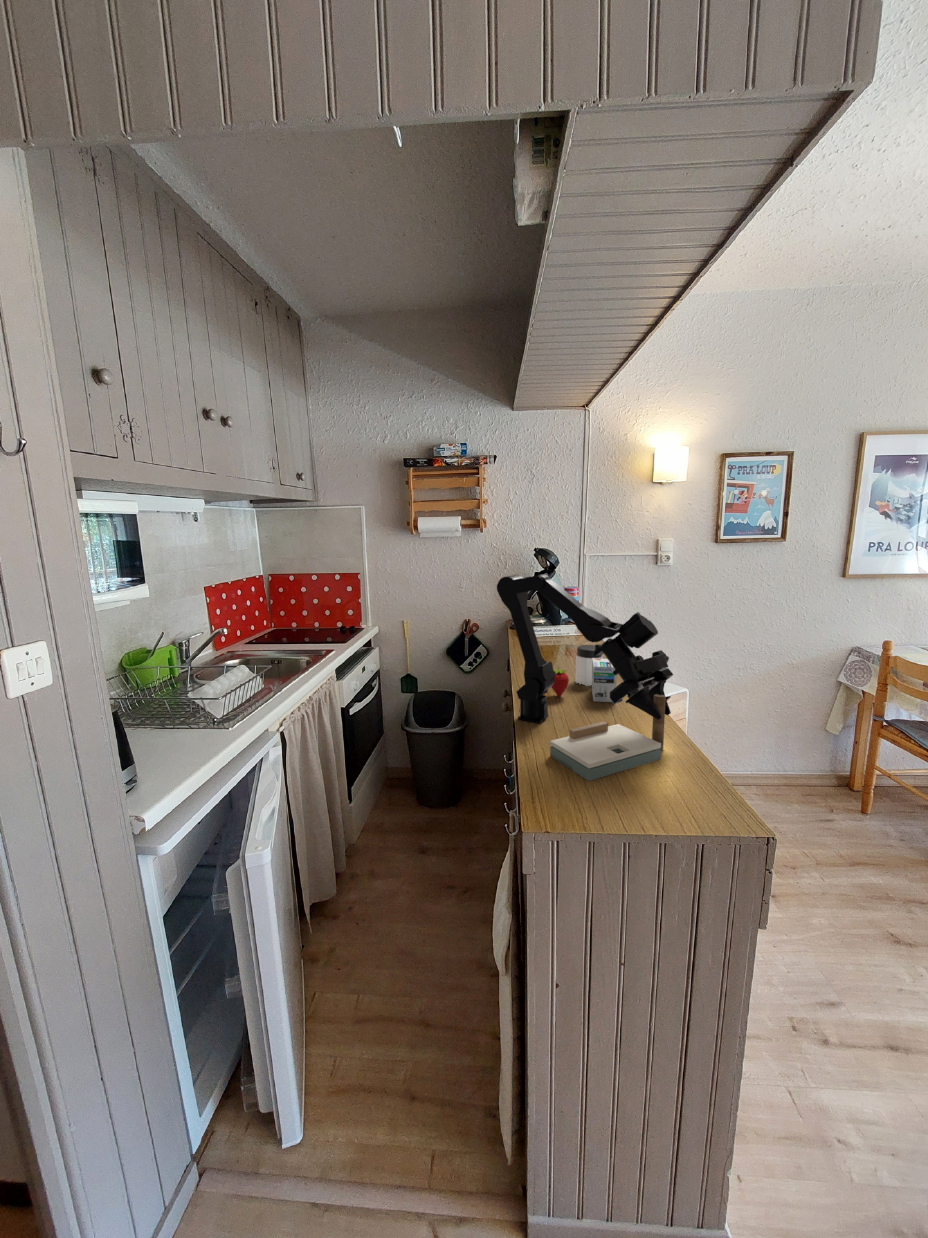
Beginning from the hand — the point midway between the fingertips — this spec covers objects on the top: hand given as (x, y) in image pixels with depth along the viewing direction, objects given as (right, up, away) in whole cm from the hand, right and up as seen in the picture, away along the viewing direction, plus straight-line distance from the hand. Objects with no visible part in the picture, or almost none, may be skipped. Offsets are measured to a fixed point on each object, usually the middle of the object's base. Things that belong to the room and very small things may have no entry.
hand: (664, 716), depth 113 cm
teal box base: (-14, -9, -2) cm, 17 cm away
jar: (-4, +1, +53) cm, 53 cm away
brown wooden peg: (-1, -8, +2) cm, 8 cm away
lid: (-14, -6, -2) cm, 16 cm away
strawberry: (-16, -2, +40) cm, 43 cm away
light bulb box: (-3, -2, +39) cm, 39 cm away
